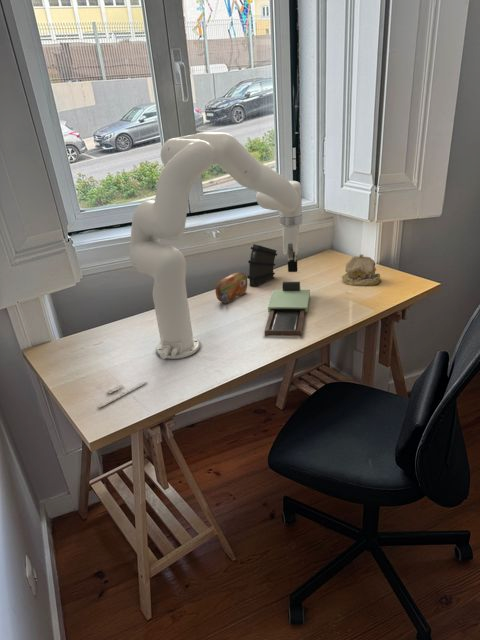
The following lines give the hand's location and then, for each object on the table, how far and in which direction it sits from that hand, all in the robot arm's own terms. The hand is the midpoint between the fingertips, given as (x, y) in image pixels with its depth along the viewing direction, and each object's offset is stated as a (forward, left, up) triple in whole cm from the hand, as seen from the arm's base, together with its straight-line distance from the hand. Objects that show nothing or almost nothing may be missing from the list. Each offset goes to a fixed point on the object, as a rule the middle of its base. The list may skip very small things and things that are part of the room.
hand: (292, 271), depth 177 cm
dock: (-20, 0, -8) cm, 22 cm away
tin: (-5, +22, -9) cm, 24 cm away
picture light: (-67, +40, -8) cm, 78 cm away
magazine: (+12, +13, -8) cm, 19 cm away
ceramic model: (+12, -24, -8) cm, 28 cm away
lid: (-13, 0, -7) cm, 14 cm away
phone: (-27, 0, -7) cm, 28 cm away
